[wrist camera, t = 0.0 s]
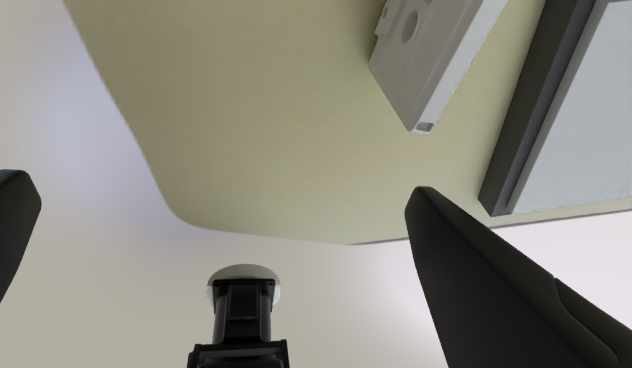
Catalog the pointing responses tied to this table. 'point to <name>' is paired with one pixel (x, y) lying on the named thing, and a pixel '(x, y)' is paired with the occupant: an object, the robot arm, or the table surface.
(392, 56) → the cassette
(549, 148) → the scale
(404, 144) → the table surface
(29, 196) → the robot arm
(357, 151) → the table surface
